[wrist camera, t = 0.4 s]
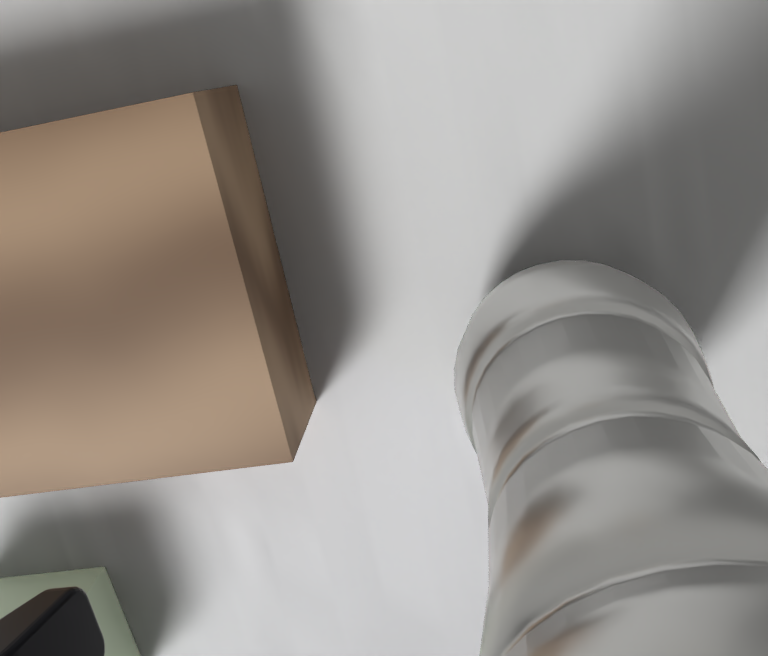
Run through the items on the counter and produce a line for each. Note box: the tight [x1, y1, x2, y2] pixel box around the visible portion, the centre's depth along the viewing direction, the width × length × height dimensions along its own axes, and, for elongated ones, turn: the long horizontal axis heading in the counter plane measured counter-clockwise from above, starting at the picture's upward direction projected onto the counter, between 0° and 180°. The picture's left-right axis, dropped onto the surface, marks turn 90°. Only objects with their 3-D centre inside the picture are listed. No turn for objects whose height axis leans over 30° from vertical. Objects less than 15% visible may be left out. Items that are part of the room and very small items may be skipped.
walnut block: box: [0, 85, 316, 498], centre depth 21 cm, size 10×10×4 cm
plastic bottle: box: [454, 260, 768, 656], centre depth 13 cm, size 6×7×20 cm
